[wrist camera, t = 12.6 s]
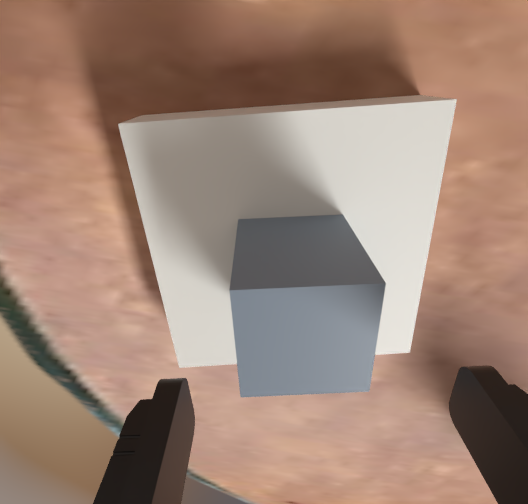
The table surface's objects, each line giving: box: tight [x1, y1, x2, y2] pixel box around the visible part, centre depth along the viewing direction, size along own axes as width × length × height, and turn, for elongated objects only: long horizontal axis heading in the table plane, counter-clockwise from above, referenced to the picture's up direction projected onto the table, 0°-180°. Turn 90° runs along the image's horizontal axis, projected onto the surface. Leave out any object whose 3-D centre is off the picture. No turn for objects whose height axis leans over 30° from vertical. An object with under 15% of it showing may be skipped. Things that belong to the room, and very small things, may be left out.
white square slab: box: [118, 95, 457, 368], centre depth 19 cm, size 14×14×4 cm
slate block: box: [229, 214, 386, 397], centre depth 15 cm, size 5×5×6 cm
